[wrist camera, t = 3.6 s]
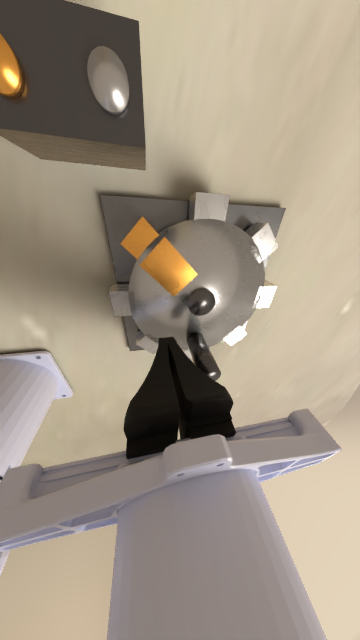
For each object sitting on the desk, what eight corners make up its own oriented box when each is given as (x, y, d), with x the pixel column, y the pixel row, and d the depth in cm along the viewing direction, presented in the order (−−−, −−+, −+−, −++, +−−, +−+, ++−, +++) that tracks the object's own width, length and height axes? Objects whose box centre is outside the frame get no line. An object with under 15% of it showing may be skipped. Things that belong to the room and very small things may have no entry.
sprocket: (127, 355, 17) (120, 410, 12) (92, 187, 9) (33, 153, 4) (243, 343, 20) (275, 384, 15) (293, 203, 12) (398, 193, 7)
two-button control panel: (42, 159, 9) (-24, 122, 6) (14, 72, 7) (-103, -59, 4) (145, 170, 10) (145, 145, 7) (141, 96, 9) (138, 11, 5)
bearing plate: (130, 348, 18) (129, 351, 18) (101, 195, 10) (100, 194, 10) (238, 337, 20) (240, 340, 20) (281, 208, 13) (285, 208, 12)
